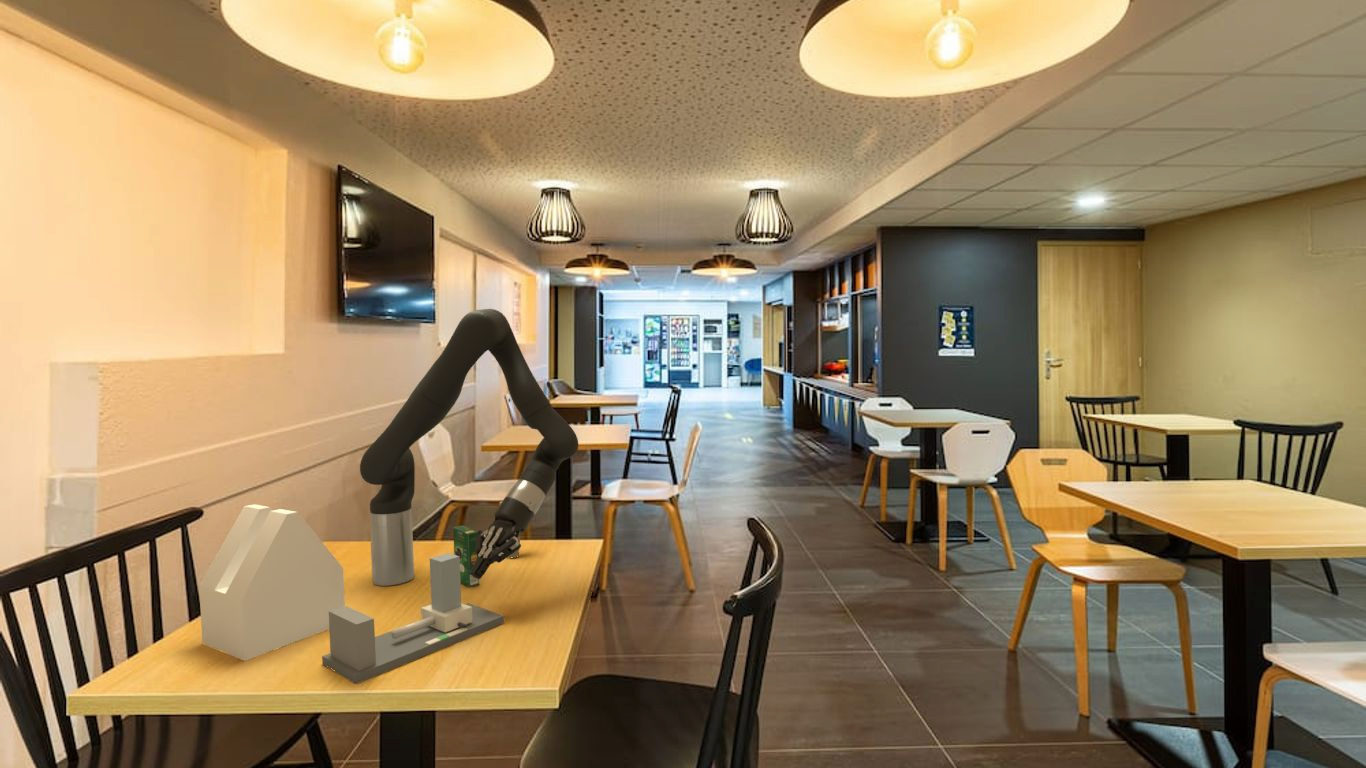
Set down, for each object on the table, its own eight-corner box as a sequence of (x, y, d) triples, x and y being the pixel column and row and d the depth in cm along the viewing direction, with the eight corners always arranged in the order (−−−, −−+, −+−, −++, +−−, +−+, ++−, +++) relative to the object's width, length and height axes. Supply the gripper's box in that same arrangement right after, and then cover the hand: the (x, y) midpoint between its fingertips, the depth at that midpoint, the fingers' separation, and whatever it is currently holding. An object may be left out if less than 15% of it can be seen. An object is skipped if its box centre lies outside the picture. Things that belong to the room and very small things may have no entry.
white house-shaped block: (245, 661, 119) (237, 524, 118) (202, 644, 126) (195, 515, 125) (345, 623, 135) (340, 502, 134) (302, 609, 143) (297, 495, 142)
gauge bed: (322, 664, 117) (320, 611, 116) (468, 609, 141) (467, 566, 140) (355, 683, 109) (353, 627, 109) (504, 622, 133) (502, 576, 133)
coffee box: (481, 585, 156) (479, 530, 155) (469, 588, 154) (467, 533, 153) (465, 577, 162) (463, 524, 161) (454, 580, 160) (452, 526, 159)
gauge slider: (382, 637, 123) (379, 568, 123) (448, 612, 135) (446, 550, 134) (411, 650, 117) (408, 579, 117) (478, 624, 128) (476, 558, 128)
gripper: (490, 492, 146) (443, 561, 136) (530, 499, 137) (482, 573, 128) (511, 511, 150) (466, 579, 141) (550, 519, 142) (505, 592, 133)
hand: (474, 576), depth 135 cm, fingers closed
